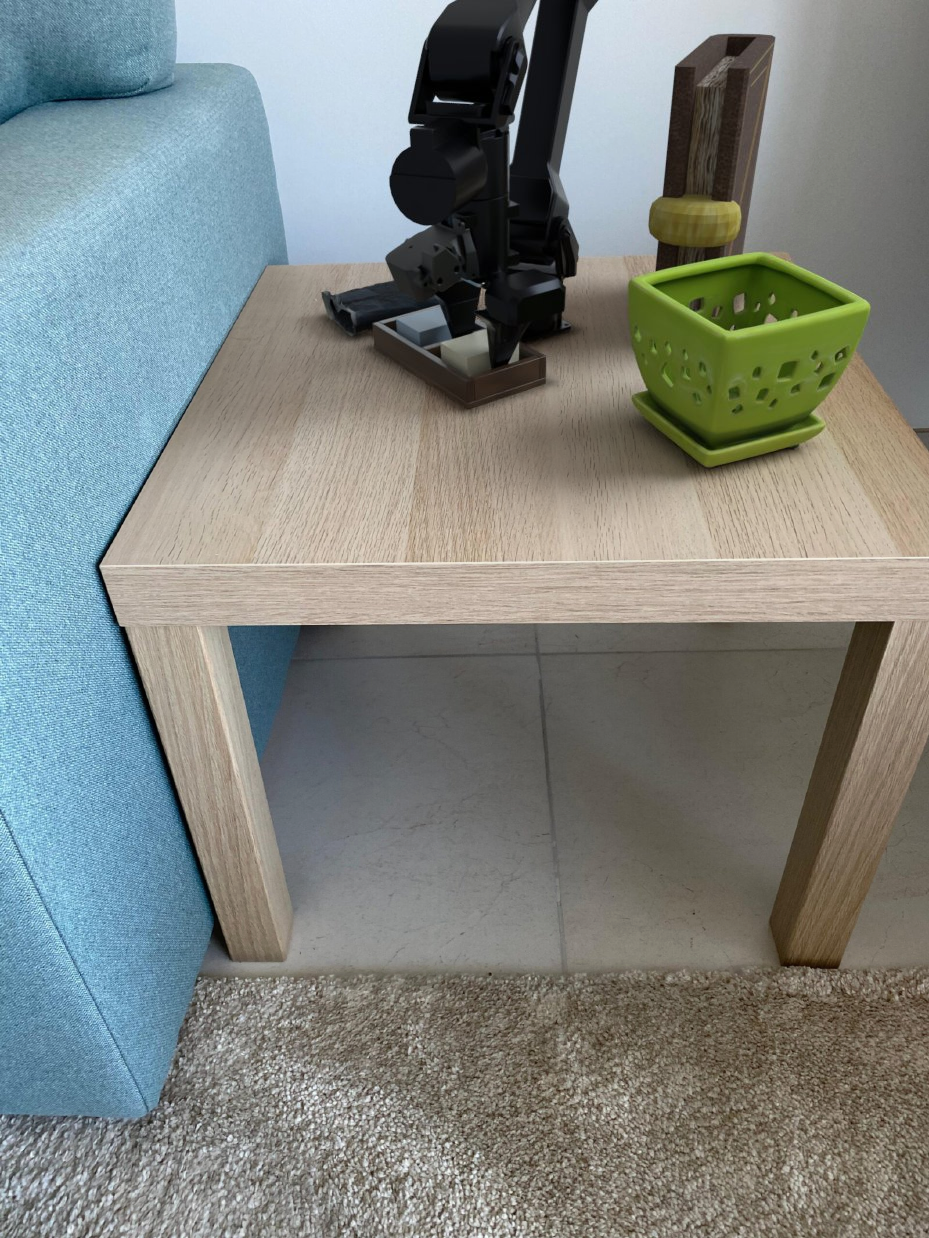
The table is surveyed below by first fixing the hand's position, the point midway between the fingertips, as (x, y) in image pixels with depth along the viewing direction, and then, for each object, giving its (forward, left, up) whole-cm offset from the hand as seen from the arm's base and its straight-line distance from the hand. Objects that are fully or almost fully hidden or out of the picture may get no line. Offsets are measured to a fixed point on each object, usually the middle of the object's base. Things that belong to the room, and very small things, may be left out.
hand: (480, 364), depth 90 cm
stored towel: (0, -8, -1) cm, 8 cm away
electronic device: (-2, -19, -2) cm, 19 cm away
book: (-27, +2, -2) cm, 27 cm away
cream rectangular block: (0, 0, -1) cm, 1 cm away
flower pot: (-10, +22, -2) cm, 24 cm away
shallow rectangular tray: (0, -4, -2) cm, 4 cm away
